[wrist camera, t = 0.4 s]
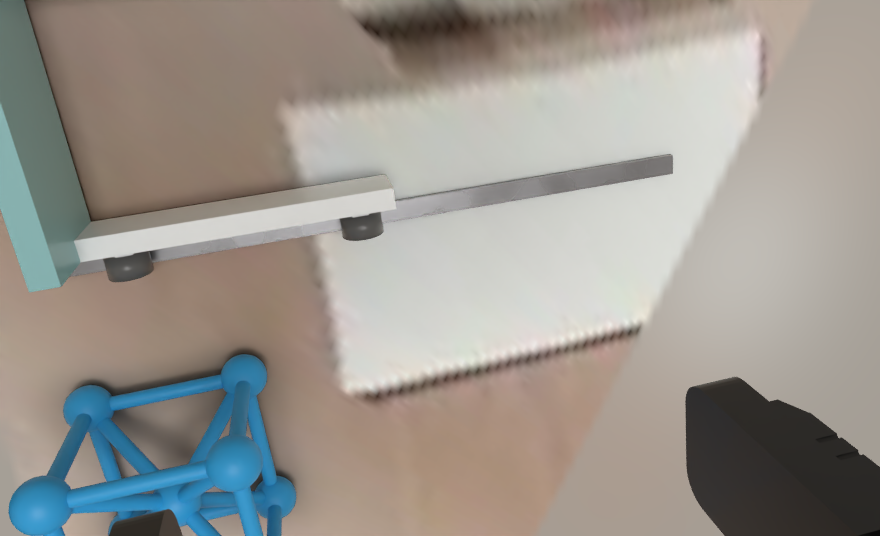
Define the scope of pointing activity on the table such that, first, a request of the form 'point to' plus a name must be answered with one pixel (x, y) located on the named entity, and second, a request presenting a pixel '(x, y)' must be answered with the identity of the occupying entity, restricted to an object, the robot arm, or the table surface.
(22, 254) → the cart
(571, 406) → the table surface
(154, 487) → the molecular structure
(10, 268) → the table surface
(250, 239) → the rails
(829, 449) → the robot arm
